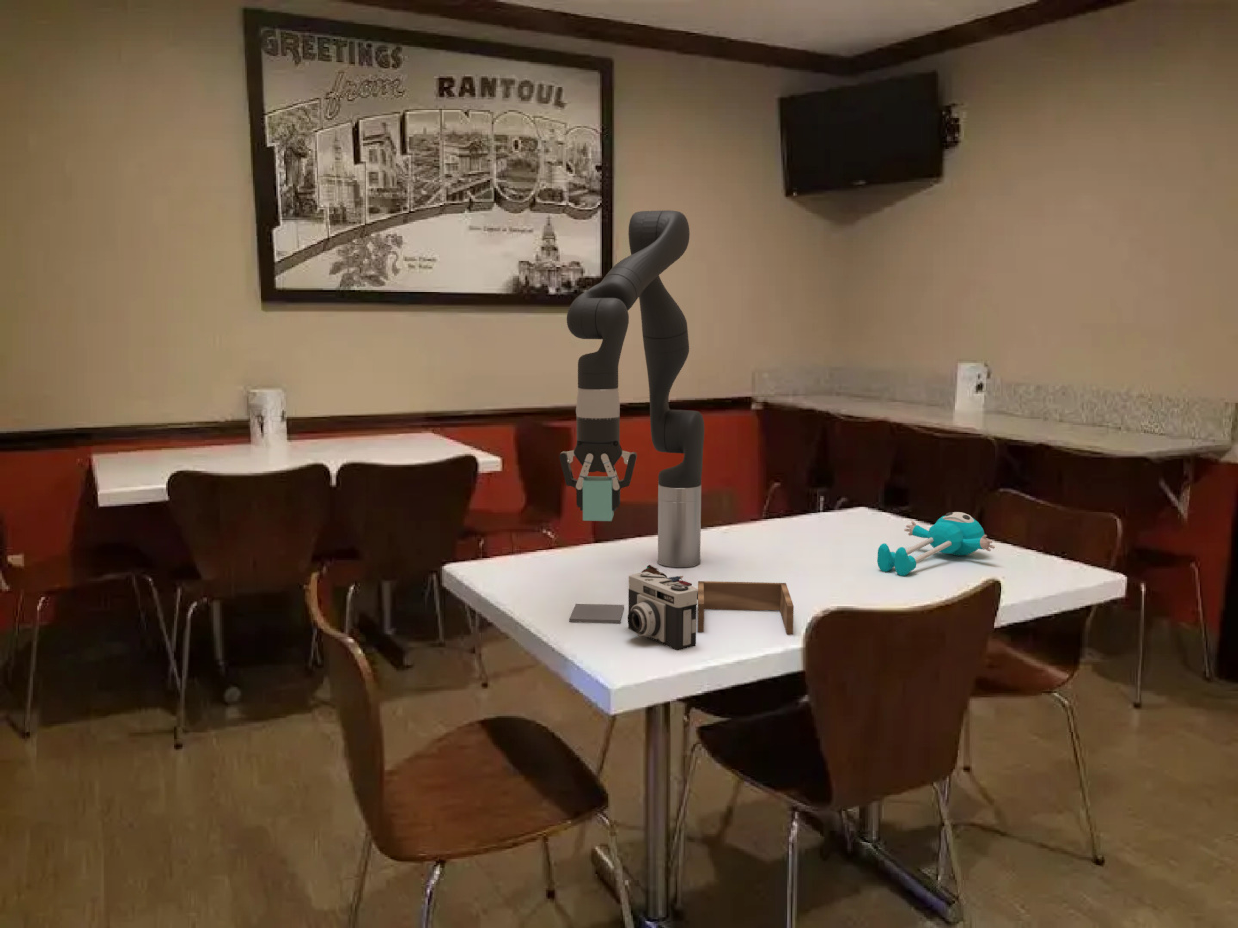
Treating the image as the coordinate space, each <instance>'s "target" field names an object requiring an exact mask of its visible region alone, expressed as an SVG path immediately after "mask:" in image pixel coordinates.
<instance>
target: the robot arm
mask: <svg viewBox="0 0 1238 928" xmlns="http://www.w3.org/2000/svg"><path fill="white" fill-rule="evenodd" d="M690 233H691V232H690V224H689V221H688V218H687V217H686V215H685V214H684V213H683V212H681V211H677V210H671V209H670V210H667V209H666V210H641V211H636V212H634V213H633V214H632V215H631V217H630V219H629V223H628V244H629V245H628V246H629V250H630V255H628V256H627V257H625V258H622V260H620V261H618V262H617V263H615V264H614V266H612V268H611V269H610V270H609V271H608V272H607V273H606V275H605V276H604V277H603V279H602V280H601V281H600V282H598V283H597V284H595V285H593V286H592V287H590V288H588V289H587V290H585V291H583V292H582V293H581V294H579V295H578V296H577V297H575V299H574V300H573V301H572V302H571V304H570V305H569V308H568V310H567V313H566V325H567V328H568V330H569V332H570V334H571V335H573V336H574V337H575V338H578V339H582V340H602V341H601V344H600V346H599V349H598V350H597V351H594V352H590V353H585V354H583V355H581V356H580V357H579V358H578V360H577V396H576V406H575V407H576V408H575V414H576V444H575V447H574V449H573V450H569V451H568V450H567V451H566V450H563V451H562V452H559V453H560V454H559V455H558V456H559V457H558V458H559V462H560V466H561V469H562V473H563V477H564V482H565V483H564V484H565V485H566V486H567V487H572V488H574V489H575V491H576V493H575V494H576V507H577V508H579V509H580V511H581V512H583V480H585V479H586V478H587V476H588V475H589V473H596V472H600V473H606V474H607V477H609V479H610V480H612V487H613V490H612V511H614V512H616V511H617V509H619V508H620V507H621V506H620V505H621V490H622V489H624V488H628V487H629V486H630V484H631V482H632V477H633V473H634V470H635V465H636V461H637V457H638V454H637V452H636V451H632V452H630V451H626V450H623V448H622V446H621V444H620V442H621V441H620V437H621V436H620V434H621V433H620V432H621V430H620V428H621V427H620V425H621V423H620V421H621V419H620V418H621V416H620V413H621V411H620V408H621V407H620V406H621V403H620V401H621V400H620V393H619V366H620V358H621V354H622V351H623V346H624V342H625V338H626V336H627V335H626V334H627V331H628V329H629V328H628V327H629V324H630V321H629V319H630V315H629V310H630V309H631V308H632V307H633V306H634V305H635V303H636V302H637V300H638V299H639V300H638V301H639V307H640V308H639V309H640V319H641V321H640V322H641V332H642V341H643V350H644V356H645V364H646V369H647V370H646V371H647V381H648V391H649V392H648V395H649V421H650V437H651V441H652V445H653V447H654V449H655V450H656V451H657V452H659V453H668V454H683V459H682V461H681V462H680V463H679V464H677V465H674V466H671V467H668V468H665V469H662V470H661V471H659V473H658V478H657V479H658V481H657V482H658V485H657V486H658V487H657V488H658V491H657V493H658V494H657V499H658V500H657V505H658V506H657V563H658V564H659V565H661V566H664V567H671V568H690V567H696V566H697V565H700V564H701V540H702V539H701V535H702V534H701V532H702V531H701V530H702V529H701V527H702V526H701V525H702V523H701V522H702V475H703V474H702V473H703V461H704V460H703V459H704V458H703V457H704V456H703V455H704V445H705V443H704V441H705V421H704V417H703V415H702V413H701V412H700V411H698V410H691V409H690V410H689V409H688V410H687V409H670V405H669V398H670V392H671V389H672V387H673V385H674V383H675V380H676V379H677V377H678V376H679V374H680V372H681V370H682V368H683V367H684V365H685V363H686V361H687V359H688V356H689V352H690V341H689V331H688V330H689V329H688V322H687V319H686V317H685V314H684V312H683V311H682V309H681V307H680V306H679V304H678V303H677V302H676V301H675V299H674V297H673V296H672V295H671V294H670V293H669V291H668V289H666V287H665V285H664V283H663V281H662V279H661V277H660V275H661V274H662V273H663V272H665V271H666V270H667V269H668V268H669V267H670V266H671V265H673V264H675V262H676V261H678V260H679V259H681V257H682V256H684V254H685V252H686V251H687V249H688V246H689V243H690V235H691V234H690ZM574 457H576V459H577V461H578V462H579V464H580V465H581V466H582V467H581V469H580V473H579V475H578V479H576V478H574V474H573V470H572V467H571V463H572V462H573V461H574ZM621 457H622V459H623V463H624V464H625V465H626V469H625V473H624V476H623V479H621V480H620V479H619V476H618V473H617V470H616V467H615V465H616V464H617V462H618V461H619V460H620V458H621Z"/></svg>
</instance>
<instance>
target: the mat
mask: <svg viewBox="0 0 1238 928" xmlns="http://www.w3.org/2000/svg"><path fill="white" fill-rule="evenodd" d="M624 611H625V604H606V603H605V604H603V603H602V604H601V603H575V604H574V607H573V608H572V612H571V614H570V616H569V619H568V620H569V621H568V622H569V623H590V624H592V623H593V624H594V623H595V624H597V623H598V624H621V623H622V619H623V614H624Z"/></svg>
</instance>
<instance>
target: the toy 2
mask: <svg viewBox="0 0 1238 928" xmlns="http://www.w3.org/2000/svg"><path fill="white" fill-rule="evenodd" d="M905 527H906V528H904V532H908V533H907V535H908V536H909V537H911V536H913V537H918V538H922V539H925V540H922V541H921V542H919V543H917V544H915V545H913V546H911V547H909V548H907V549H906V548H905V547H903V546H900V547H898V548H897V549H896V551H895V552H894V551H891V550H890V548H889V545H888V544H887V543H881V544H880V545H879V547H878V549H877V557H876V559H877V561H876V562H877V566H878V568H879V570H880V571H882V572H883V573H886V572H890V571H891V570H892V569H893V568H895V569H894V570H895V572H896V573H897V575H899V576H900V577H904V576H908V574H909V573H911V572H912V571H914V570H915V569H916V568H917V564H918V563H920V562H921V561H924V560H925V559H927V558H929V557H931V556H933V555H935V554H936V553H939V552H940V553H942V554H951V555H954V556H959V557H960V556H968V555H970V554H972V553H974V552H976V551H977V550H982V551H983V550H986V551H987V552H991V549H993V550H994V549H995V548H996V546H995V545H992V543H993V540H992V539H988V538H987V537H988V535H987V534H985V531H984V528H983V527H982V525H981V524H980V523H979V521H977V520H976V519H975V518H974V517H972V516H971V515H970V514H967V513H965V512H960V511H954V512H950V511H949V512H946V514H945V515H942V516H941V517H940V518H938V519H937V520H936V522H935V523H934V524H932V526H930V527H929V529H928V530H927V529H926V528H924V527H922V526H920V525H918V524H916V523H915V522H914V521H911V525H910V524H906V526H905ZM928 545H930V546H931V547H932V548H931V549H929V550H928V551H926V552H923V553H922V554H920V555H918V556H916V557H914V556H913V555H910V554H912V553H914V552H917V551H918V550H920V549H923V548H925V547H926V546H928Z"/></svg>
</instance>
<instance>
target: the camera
mask: <svg viewBox="0 0 1238 928" xmlns="http://www.w3.org/2000/svg"><path fill="white" fill-rule="evenodd" d="M641 572H642V571H641ZM641 572H639V573H631V574H629V575H628V592H627V593H628V613H627V624H628V626H627V627H628V629H629V630H631V631H632V632H633V633H635V634H636V635H638V636H639V637H645V638H648V639H651V640H653V641H655V642H658V643H660V644H661V645H664V646H666V647H668V648H671V649H673V650H675V651H682V650H685V649H689V648H693V647H696V645H697V606H698V600H697V590H696V589H694V588H691V587H688V586H686V585H683V584H679V582H671V579H669V577H667V578H666V577H665V576H662V575H656V574H652V573H649V572H642V573H641Z"/></svg>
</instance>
